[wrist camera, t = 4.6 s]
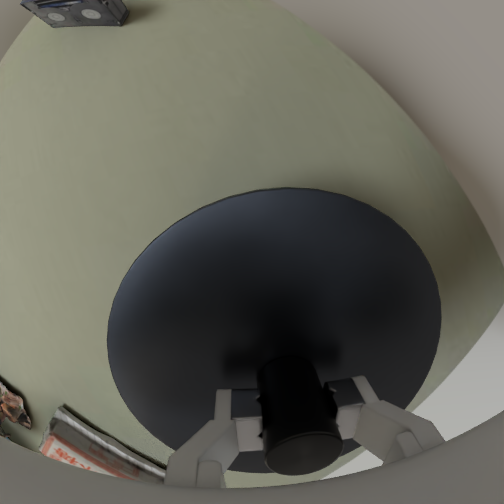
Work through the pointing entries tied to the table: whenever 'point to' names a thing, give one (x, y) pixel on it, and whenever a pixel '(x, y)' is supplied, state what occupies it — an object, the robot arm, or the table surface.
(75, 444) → the packaged product
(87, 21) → the mini dv tape
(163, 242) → the tin lid
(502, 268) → the table surface
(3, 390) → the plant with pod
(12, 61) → the table surface
